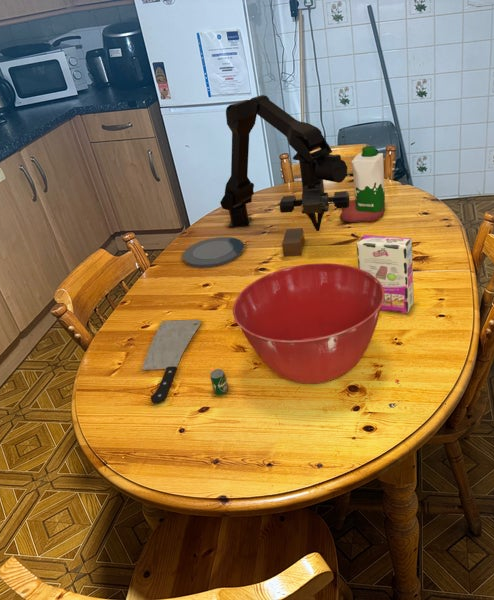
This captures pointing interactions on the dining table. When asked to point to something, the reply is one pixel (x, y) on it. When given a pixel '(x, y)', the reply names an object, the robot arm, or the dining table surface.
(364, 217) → the food model
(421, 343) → the dining table surface
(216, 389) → the beer can
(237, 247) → the plate
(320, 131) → the robot arm
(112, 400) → the dining table surface
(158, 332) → the cleaver
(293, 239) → the block
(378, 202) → the milk carton
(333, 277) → the mixing bowl
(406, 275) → the candy bar box
